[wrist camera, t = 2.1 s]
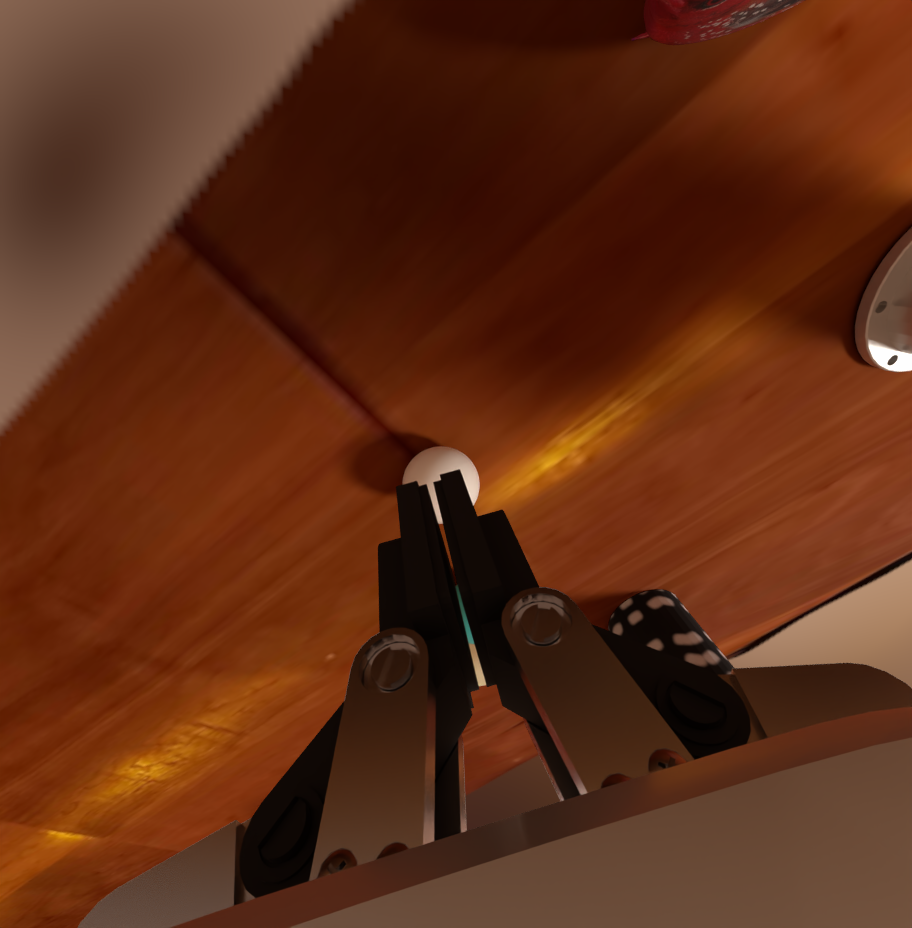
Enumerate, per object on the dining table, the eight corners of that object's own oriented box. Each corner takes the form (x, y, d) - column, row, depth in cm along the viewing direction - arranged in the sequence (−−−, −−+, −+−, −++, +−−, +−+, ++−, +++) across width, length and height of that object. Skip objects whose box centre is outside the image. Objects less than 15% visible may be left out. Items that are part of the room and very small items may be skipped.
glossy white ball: (463, 425, 30) (480, 461, 26) (476, 484, 33) (493, 527, 29) (391, 444, 30) (394, 484, 26) (410, 502, 33) (416, 548, 28)
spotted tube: (594, 623, 45) (727, 864, 28) (655, 578, 43) (840, 808, 26) (632, 649, 49) (770, 875, 32) (690, 608, 47) (871, 827, 30)
